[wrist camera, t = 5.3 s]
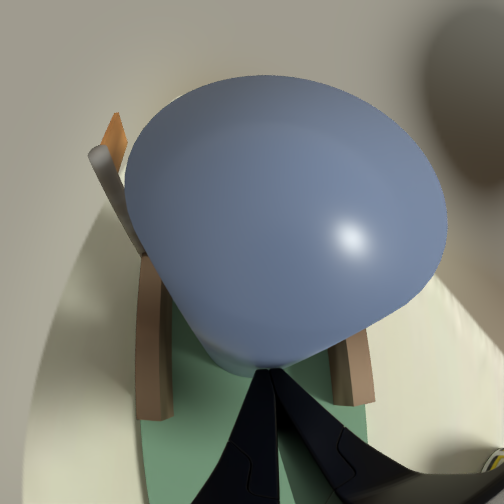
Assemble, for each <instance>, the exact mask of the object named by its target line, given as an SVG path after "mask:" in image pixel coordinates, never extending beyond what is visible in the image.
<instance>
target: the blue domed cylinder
mask: <svg viewBox="0 0 504 504" xmlns="http://www.w3.org/2000/svg"><path fill="white" fill-rule="evenodd" d="M124 192H125V199H126V205H127V211H128V213H129V216H130V219H131V222H132V225H133V228H134V230H135V232H136V234H137V236H138V238H139V240H140V242H141V244H142V245H143V247H144V249H145V251H146V253H147V255H148V256H149V258H150V260H151V262H152V264H153V266H154V267H155V269H156V271H157V273H158V274H159V276H160V278H161V280H162V281H163V283H164V285H165V287H166V288H167V290H168V292H169V293H170V295H171V297H172V298H173V300H174V302H175V303H176V305H177V307H178V308H179V310H180V312H181V313H182V315H183V316H184V318H185V320H186V321H187V323H188V324H189V326H190V327H191V329H192V331H193V332H194V334H195V335H196V337H197V338H198V340H199V341H200V343H201V344H202V346H203V347H204V349H205V350H206V352H207V353H208V355H209V356H210V358H211V359H212V360H213V361H214V362H215V363H216V364H217V365H218V366H219V367H221V368H222V369H224V370H225V371H227V372H229V373H231V374H234V375H237V376H241V377H247V378H253V375H254V373H255V371H256V370H257V369H268V370H269V369H270V368H282V369H285V368H287V367H289V366H291V365H293V364H296V363H298V362H300V361H302V360H304V359H306V358H309V357H311V356H313V355H315V354H317V353H319V352H321V351H323V350H325V349H327V348H329V347H331V346H333V345H335V344H337V343H339V342H341V341H343V340H345V339H347V338H348V337H350V336H352V335H354V334H356V333H358V332H360V331H361V330H363V329H365V328H367V327H369V326H370V325H372V324H374V323H376V322H377V321H379V320H381V319H382V318H384V317H386V316H388V315H389V314H391V313H393V312H394V311H396V310H398V309H399V308H401V307H402V306H404V305H406V304H407V303H408V302H409V301H410V300H411V299H413V298H414V297H415V296H416V295H417V294H418V293H419V292H420V291H421V290H422V289H423V288H424V287H425V285H426V284H427V283H428V281H429V280H430V279H431V278H432V276H433V274H434V273H435V271H436V269H437V267H438V265H439V263H440V261H441V258H442V254H443V251H444V248H445V244H446V237H447V211H446V204H445V199H444V195H443V192H442V189H441V186H440V183H439V180H438V178H437V176H436V174H435V172H434V170H433V168H432V166H431V164H430V163H429V161H428V159H427V158H426V156H425V155H424V153H423V152H422V151H421V149H420V148H419V147H418V146H417V144H416V143H415V142H414V141H413V140H412V138H411V137H410V136H409V135H408V134H407V133H406V132H405V131H404V130H403V129H402V128H400V126H398V125H397V124H396V123H395V122H394V121H393V120H392V119H390V118H389V117H388V116H386V115H385V114H384V113H382V112H381V111H380V110H378V109H377V108H375V107H373V106H372V105H370V104H369V103H367V102H365V101H363V100H361V99H359V98H358V97H355V96H353V95H351V94H349V93H347V92H344V91H342V90H340V89H337V88H334V87H331V86H329V85H325V84H322V83H318V82H315V81H311V80H306V79H300V78H294V77H286V76H271V75H259V76H245V77H237V78H231V79H226V80H222V81H217V82H214V83H211V84H208V85H205V86H202V87H200V88H197V89H195V90H192V91H191V92H188V93H186V94H184V95H183V96H181V97H179V98H177V99H176V100H174V101H173V102H171V103H170V104H168V105H167V106H166V107H164V108H163V109H162V110H161V111H160V112H159V113H157V114H156V115H155V116H154V117H153V118H152V119H151V121H150V122H149V123H148V124H147V125H146V126H145V128H144V129H143V130H142V132H141V133H140V135H139V137H138V138H137V140H136V142H135V143H134V145H133V148H132V150H131V153H130V155H129V158H128V162H127V167H126V171H125V188H124Z"/></svg>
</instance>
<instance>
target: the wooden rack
mask: <svg viewBox="0 0 504 504" xmlns="http://www.w3.org/2000/svg"><path fill="white" fill-rule="evenodd" d="M127 143H128V142H127V139H126V136H125V132H124V129H123V126H122V122H121V119H120V116H119V113H114V115H113V117H112V119H111V121H110V124H109V126H108V128H107V130H106V132H105V135H104V137H103V139H102V142H101V144H100V145H98V146H96V147H94V148H93V149H92V150H91V151H90V152H89V153H88V158H89V160H90V163H91V165H92V167H93V169H94V171H95V173H96V175H97V177H98V179H99V181H100V183H101V185H102V187H103V189H104V191H105V193H106V195H107V197H108V199H109V201H110V203H111V205H112V207H113V209H114V211H115V212H116V214H117V216H118V218H119V220H120V222H121V223H122V225H123V227H124V229H125V231H126V232H127V234H128V236H129V238H130V239H131V241H132V243H133V245H134V246H135V248H136V250H137V252H138V253H139V255H140V257H141V258H142V259H141V268H140V278H139V290H138V303H137V320H136V348H135V391H136V417H137V419H138V420H149V421H163V420H166V419H168V418H171V417H173V416H174V409H173V386H172V297H171V295H170V293H169V292H168V290H167V288H166V287H165V285H164V283H163V281H162V280H161V278H160V276H159V274H158V273H157V271H156V269H155V267H154V266H153V264H152V262H151V260H150V258H149V256H148V255H147V253H146V251H145V249H144V247H143V245H142V244H141V242H140V240H139V238H138V236H137V234H136V232H135V230H134V228H133V225H132V222H131V219H130V216H129V213H128V211H127V205H126V199H125V192H124V187H123V184H122V182H121V180H120V177H119V175H118V172H119V169H120V166H121V162H122V159H123V156H124V153H125V150H126V147H127ZM327 349H328V357H329V366H330V375H331V384H332V394H333V405H338V406H351V407H355V406H359V405H363V404H368V403H372V402H375V393H374V384H373V375H372V368H371V360H370V353H369V346H368V340H367V333H366V328H365V329H363V330H361V331H360V332H358V333H356V334H354V335H352V336H350V337H348V338H347V339H345V340H343V341H341V342H339V343H337V344H335V345H333V346H331V347H329V348H327Z"/></svg>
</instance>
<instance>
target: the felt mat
mask: <svg viewBox="0 0 504 504" xmlns="http://www.w3.org/2000/svg"><path fill="white" fill-rule="evenodd" d="M283 370H284V371H285V372H286V373H287V374H288V375H290V376H291V377H292V378H293V379H294V380H295V381H296V382H297V383H298V384H299V385H300V386H301V387H302V388H303V389H304V390H305V391H307V392H308V393H309V394H310V395H311V396H312V397H313V398H314V399H315V400H316V401H317V402H319V403H320V404H321V405H322V406H323V407H324V408H325V409H326V410H327V411H329V412H330V413H331V414H332V415H333V416H334V417H335V418H337V419H338V420H339V421H340V422H341V423H342V424H343V425H344V427H347V428H348V429H349V430H350V431H352V432H353V433H354V434H355V435H357V436H358V437H359V438H360V439H362V440H363V441H364V442H366V443H367V444H368V441H367V426H366V413H365V404H363V405H359V406H355V407H351V406H338V405H333V394H332V384H331V375H330V366H329V357H328V349H325V350H323V351H321V352H319V353H317V354H315V355H313V356H311V357H309V358H306V359H304V360H302V361H300V362H298V363H296V364H293V365H291V366H289V367H287V368H285V369H283ZM251 381H252V378H247V377H241V376H237V375H234V374H231V373H229V372H227V371H225V370H224V369H222V368H221V367H219V366H218V365H217V364H216V363H215V362H214V361H213V360H212V359H211V358H210V356H209V355H208V353H207V352H206V350H205V349H204V347H203V346H202V344H201V343H200V341H199V340H198V338H197V337H196V335H195V334H194V332H193V331H192V329H191V327H190V326H189V324H188V323H187V321H186V320H185V318H184V316H183V315H182V313H181V312H180V310H179V308H178V307H177V305H176V303H175V302H174V300H173V298H172V386H173V409H174V416H173V417H171V418H168V419H166V420H163V421H149V420H140V423H141V437H142V449H143V459H144V468H145V476H146V484H147V491H148V497H149V503H150V504H191V502H192V501H193V500H194V498H195V497H196V495H197V494H198V492H199V491H200V489H201V488H202V487H203V485H204V484H205V482H206V481H207V479H208V478H209V476H210V475H211V473H212V471H213V470H214V468H215V466H216V465H217V463H218V461H219V459H220V457H221V455H222V452H223V450H224V448H225V446H226V443H227V442H228V439H229V436H230V434H231V431H232V429H233V426H234V424H235V422H236V419H237V417H238V414H239V411H240V409H241V406H242V404H243V401H244V399H245V396H246V394H247V391H248V388H249V386H250V383H251ZM278 456H279V484H280V504H295V501H294V498H293V495H292V492H291V488H290V485H289V482H288V479H287V475H286V472H285V469H284V465H283V462H282V459H281V455H280V452H279V449H278Z"/></svg>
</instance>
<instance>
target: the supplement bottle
mask: <svg viewBox="0 0 504 504" xmlns="http://www.w3.org/2000/svg"><path fill="white" fill-rule="evenodd" d="M503 462H504V448H500V449H498V450H497V451H495V452H494V453H493V454H492V456H491V457H490V458H489V459H488V461H487V462H486V464H485V465H484V467H483V469H482V472H486V471H490V470H492V469H495V468H496V467H498V466H499V465H501V464H502V463H503ZM482 472H481V473H482Z"/></svg>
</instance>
